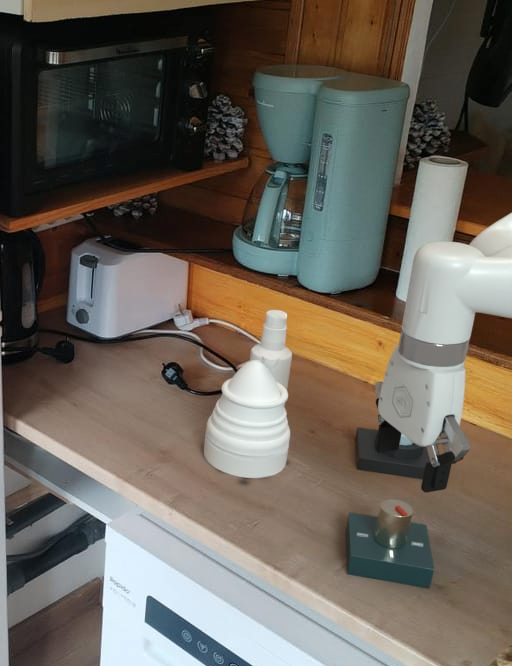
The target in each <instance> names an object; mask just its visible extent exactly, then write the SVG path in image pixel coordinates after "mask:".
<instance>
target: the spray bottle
mask: <svg viewBox="0 0 512 666" xmlns="http://www.w3.org/2000/svg"><path fill="white" fill-rule="evenodd" d="M287 320H288V313H287V312H286V311H283V310H280V309H269V310H267V311H266V313H265V319H264V323H263V325H262V331H261V332H262V333H261V336H260V343H257V344H255V345H254V346H253V347H251V350H250V357H249V361H252V360H260V361H262V354H263V353H266V352H272V353H276V354H278V355H279V356H280V359H279V362H278V363H277V365H276V366H275V367H273V368H269V369H270V370H271V372H272V373H273V375H274V377H275V380H276V382H278V383H280V384H281V385H283V386H284V387H285V388H286V390H287V391H288V387H289V379H290V372H291V366H292V359H293V352H292V350H291V349H289V347H287V346H286V343H287V338H286V337H287V331H288V326H287V322H288V321H287ZM262 362H263V361H262ZM280 394H281V393H280ZM283 406H284V407H285V408H286V402H285V403H284V404H283Z"/></svg>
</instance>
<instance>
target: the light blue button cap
mask: <svg viewBox="0 0 512 666" xmlns="http://www.w3.org/2000/svg"><path fill="white" fill-rule="evenodd" d="M413 443H414V442H412V441H411V440H410V439H408V438H407V437H406V436H405V435H403V434H402V433H401V439H400V444H399V445H412V444H413Z"/></svg>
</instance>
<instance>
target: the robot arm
mask: <svg viewBox="0 0 512 666" xmlns="http://www.w3.org/2000/svg"><path fill="white" fill-rule="evenodd" d="M476 313H479V314H486V315H491V316H497V317H501V318H502V317H503V318H508V319H512V212H510V213H509V214H507V215H505V216H504V217H502V218H500V219H498V220H497V221H495V222H494V223H492V224H491V225H488V227H486V228H485V229H484V230H482V231H481V232H480V233H479V234H477V235H476V236H475V237H474V238H473V239H472V240H471V242H470V243H469V244H466V243H463V242H458V241H457V242H456V241H445V240H443V241H442V240H441V241H430V242H427V243H425V244H423V245H421V246H419V248H418V249H417V250H416V252H415V254H414V256H413V260H412V265H411V272H410V278H409V284H408V288H407V293H406V300H405V306H404V312H403V318H402V323H401V330H400V335H399V341H398V344H396V345H395V347H394V348H393V350H392V353H391V355H390V358H389V360H388V363H387V365H386V370H385V373H384V376H383V380H382V381H376V382H375V383H374V387H375V396H376V399H375V405H376V408H377V411H378V414H377V416H376V420H377V422H378V423H379V424H378V429H377V430H378V434H377V440H376V446H375V450H376V451H377V452H378V453H381V452H387V451H393V450H398V449H399V444H400V439H401V433H402V434H403V435H405V436H406V437H407V438H408V439H410V440H411V441H412V442H414V443H415V444H417V445H418V446H421V447H425V446H426V447H427V451H428V455H429V458H430V462H428V463H426V466H425V471H424V475H423V479H421V485H420V490H421V491H422V492H423V493H432V492H438V491H443V490H446V489H447V487H448V483H449V479H450V473H451V470H452V465H456V464H457V463H459V462H461V461H463V460H464V458H465V456H467V453H469V451H470V450H471V448H472V445H471V442H470V441H469V439H468V437H467V436H466V434H465V433H464V431H463V430H462V427H461V421H462V416H463V410H464V401H465V391H466V367H465V363H466V359H467V356H468V355H467V354H468V350H469V345H470V344H469V343H470V340H471V336H472V331H473V326H474V321H475V317H476ZM436 445H437V446H439V445H442V448H443V452H444V453H441V454H440V452H439V453H438V451H439V449H438V450H437V446H436Z"/></svg>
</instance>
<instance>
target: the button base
mask: <svg viewBox="0 0 512 666" xmlns="http://www.w3.org/2000/svg"><path fill="white" fill-rule="evenodd" d="M377 434H378V429H373V428H365V427H357V428H356V432H355V437H354V442H355V444H354V445H355V457H356V470H358V471H364V472H370V473H377V474H384V475H391V476H398V477H402V478H403V477H404V478H410V479H416V480H423V475H424V471H425V466H426V463H428V462H430V458H429V455H428V451H427V447H426V446H425V447H421V446H418V445H417V444H415V443H413V444H412V445H399V449H398V450H393V451H387V452H381V453H378V452H377V451H376V450H375V446H376V440H377ZM436 446H437V450H438V453H439V454H440V451H439V445H436Z"/></svg>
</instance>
